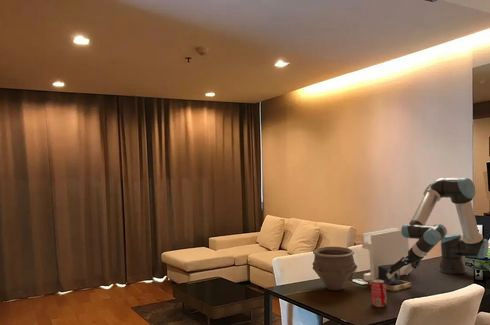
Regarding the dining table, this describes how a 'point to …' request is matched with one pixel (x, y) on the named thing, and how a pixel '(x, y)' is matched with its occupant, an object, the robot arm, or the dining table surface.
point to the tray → (396, 287)
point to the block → (384, 249)
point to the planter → (334, 266)
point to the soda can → (378, 293)
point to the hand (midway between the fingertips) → (396, 274)
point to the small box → (382, 276)
